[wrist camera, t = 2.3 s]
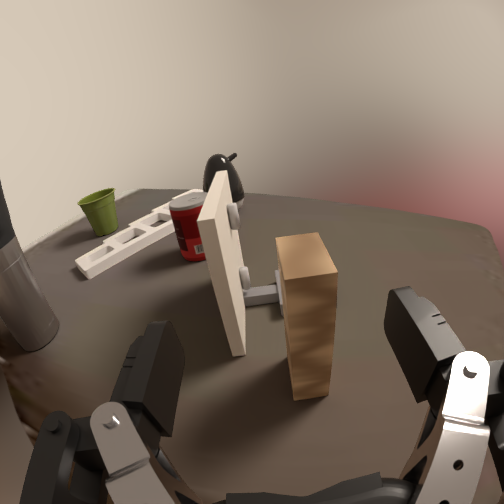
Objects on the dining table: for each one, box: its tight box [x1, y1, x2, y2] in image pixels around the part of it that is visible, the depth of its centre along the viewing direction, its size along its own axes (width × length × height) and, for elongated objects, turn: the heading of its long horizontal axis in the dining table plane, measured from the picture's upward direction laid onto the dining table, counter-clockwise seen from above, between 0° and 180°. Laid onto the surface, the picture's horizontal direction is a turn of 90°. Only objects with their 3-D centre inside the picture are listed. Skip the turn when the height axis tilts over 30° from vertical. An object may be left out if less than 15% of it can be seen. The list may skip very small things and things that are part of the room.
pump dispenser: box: [203, 153, 244, 210], centre depth 69 cm, size 10×10×15 cm
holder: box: [75, 189, 203, 279], centre depth 71 cm, size 45×18×3 cm, turn 140°
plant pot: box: [78, 188, 118, 236], centre depth 73 cm, size 12×12×11 cm
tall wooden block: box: [276, 232, 338, 401], centre depth 24 cm, size 4×6×15 cm, turn 1°
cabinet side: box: [197, 170, 337, 356], centre depth 35 cm, size 14×18×17 cm
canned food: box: [169, 192, 208, 261], centre depth 53 cm, size 8×8×11 cm
